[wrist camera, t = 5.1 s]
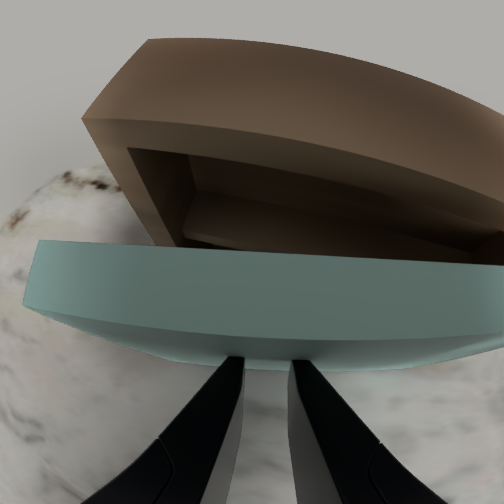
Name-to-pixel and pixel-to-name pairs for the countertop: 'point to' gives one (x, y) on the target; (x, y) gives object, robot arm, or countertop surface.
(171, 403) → the countertop surface
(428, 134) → the cabinet
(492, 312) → the door
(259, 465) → the countertop surface
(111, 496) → the robot arm
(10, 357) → the countertop surface
